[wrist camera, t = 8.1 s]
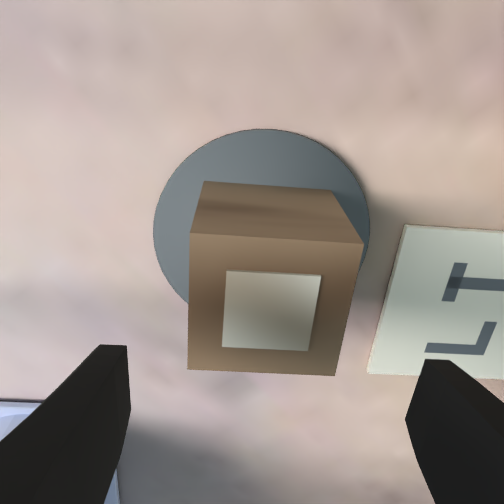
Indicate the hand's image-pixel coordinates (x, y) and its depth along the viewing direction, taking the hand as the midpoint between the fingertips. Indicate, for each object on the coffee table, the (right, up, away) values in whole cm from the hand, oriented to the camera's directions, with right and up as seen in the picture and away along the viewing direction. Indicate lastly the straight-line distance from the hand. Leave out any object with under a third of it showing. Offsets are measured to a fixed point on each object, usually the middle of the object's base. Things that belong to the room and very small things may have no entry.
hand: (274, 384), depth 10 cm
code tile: (+10, +1, +9) cm, 14 cm away
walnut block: (0, +4, +7) cm, 8 cm away
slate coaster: (0, +4, +8) cm, 9 cm away
